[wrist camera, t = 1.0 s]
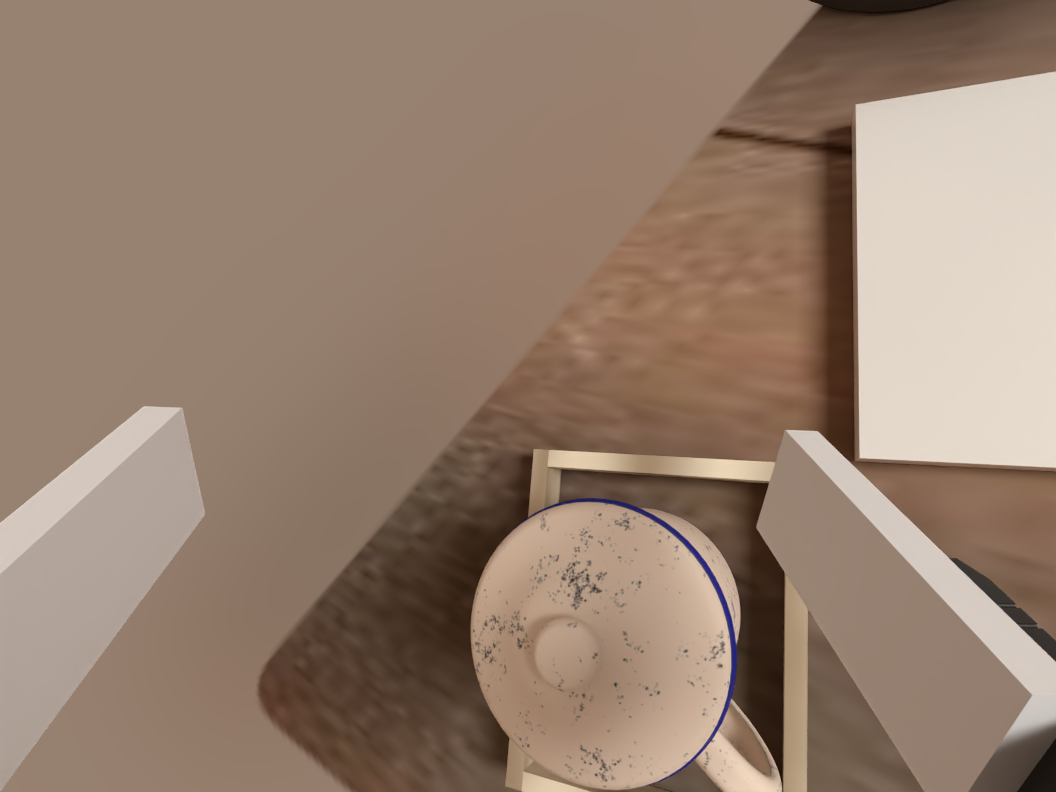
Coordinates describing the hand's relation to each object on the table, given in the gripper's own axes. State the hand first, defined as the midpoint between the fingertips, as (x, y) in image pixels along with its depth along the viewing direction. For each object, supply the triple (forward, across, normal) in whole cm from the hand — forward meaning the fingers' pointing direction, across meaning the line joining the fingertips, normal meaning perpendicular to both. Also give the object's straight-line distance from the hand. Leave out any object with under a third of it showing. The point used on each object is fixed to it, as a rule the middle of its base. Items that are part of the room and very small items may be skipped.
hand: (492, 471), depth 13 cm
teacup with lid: (+8, +9, -13) cm, 18 cm away
